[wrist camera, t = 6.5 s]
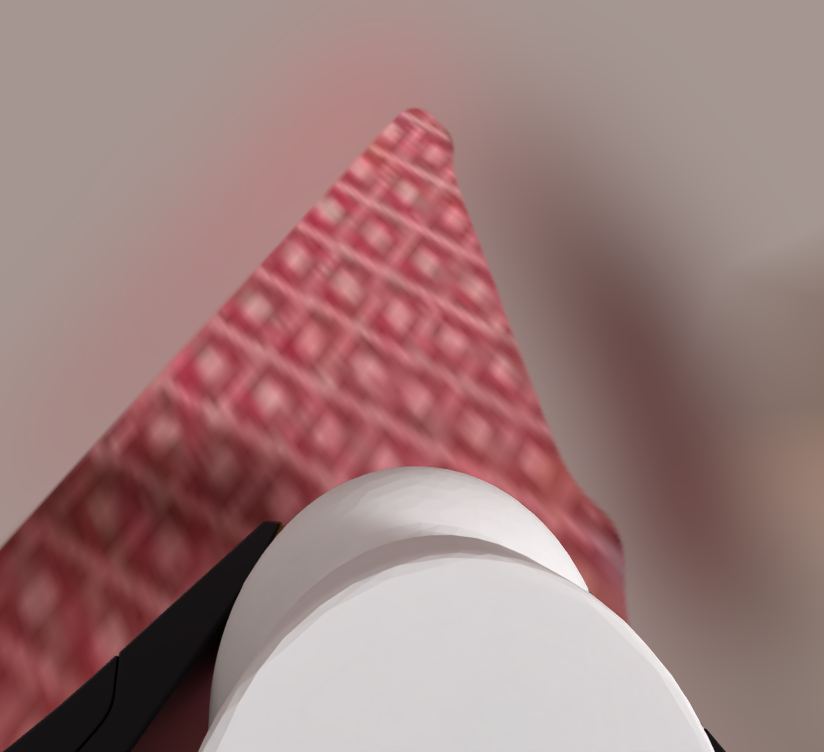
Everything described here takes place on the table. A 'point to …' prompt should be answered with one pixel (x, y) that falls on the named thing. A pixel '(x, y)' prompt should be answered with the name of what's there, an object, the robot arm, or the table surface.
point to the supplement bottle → (433, 635)
